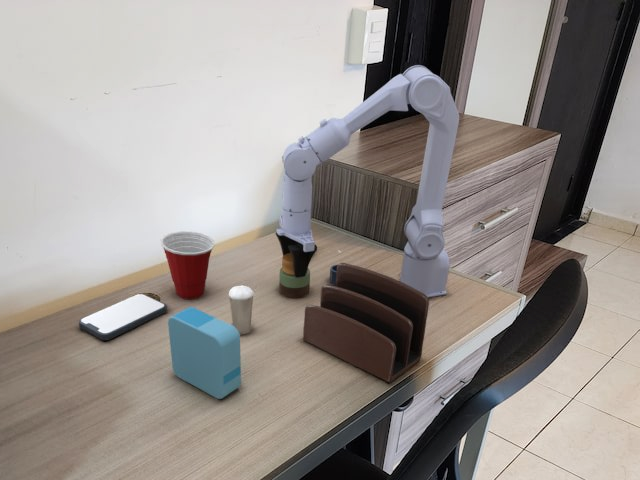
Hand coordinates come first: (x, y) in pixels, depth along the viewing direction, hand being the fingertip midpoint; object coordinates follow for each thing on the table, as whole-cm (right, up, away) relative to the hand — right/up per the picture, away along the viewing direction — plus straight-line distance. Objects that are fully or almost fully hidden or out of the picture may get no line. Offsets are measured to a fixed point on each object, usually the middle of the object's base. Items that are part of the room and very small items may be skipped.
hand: (294, 270), depth 130 cm
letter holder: (+12, -17, -16) cm, 26 cm away
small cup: (+10, -2, +7) cm, 12 cm away
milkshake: (-10, -13, -11) cm, 20 cm away
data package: (-16, -23, -25) cm, 37 cm away
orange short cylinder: (0, 0, 0) cm, 0 cm away
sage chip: (0, -2, +1) cm, 3 cm away
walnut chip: (0, -4, +3) cm, 5 cm away
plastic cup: (-22, -5, +1) cm, 22 cm away
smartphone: (-34, -11, -8) cm, 36 cm away
